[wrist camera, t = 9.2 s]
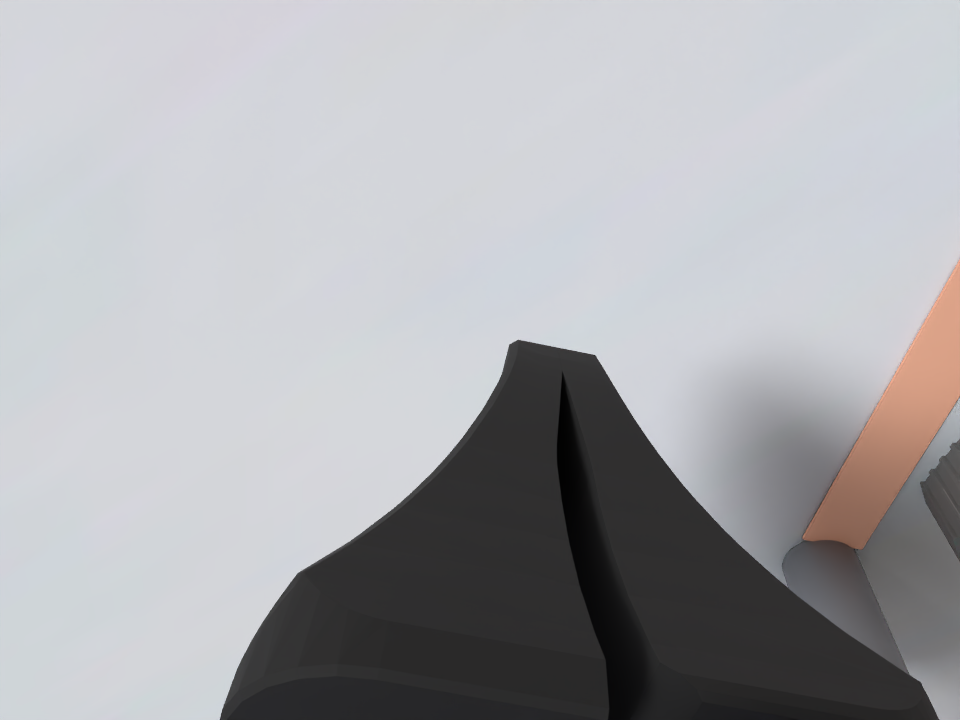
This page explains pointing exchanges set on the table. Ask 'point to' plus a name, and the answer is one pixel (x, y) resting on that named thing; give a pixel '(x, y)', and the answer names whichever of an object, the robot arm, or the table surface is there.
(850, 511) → the finish line
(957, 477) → the walkie-talkie
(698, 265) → the table surface
